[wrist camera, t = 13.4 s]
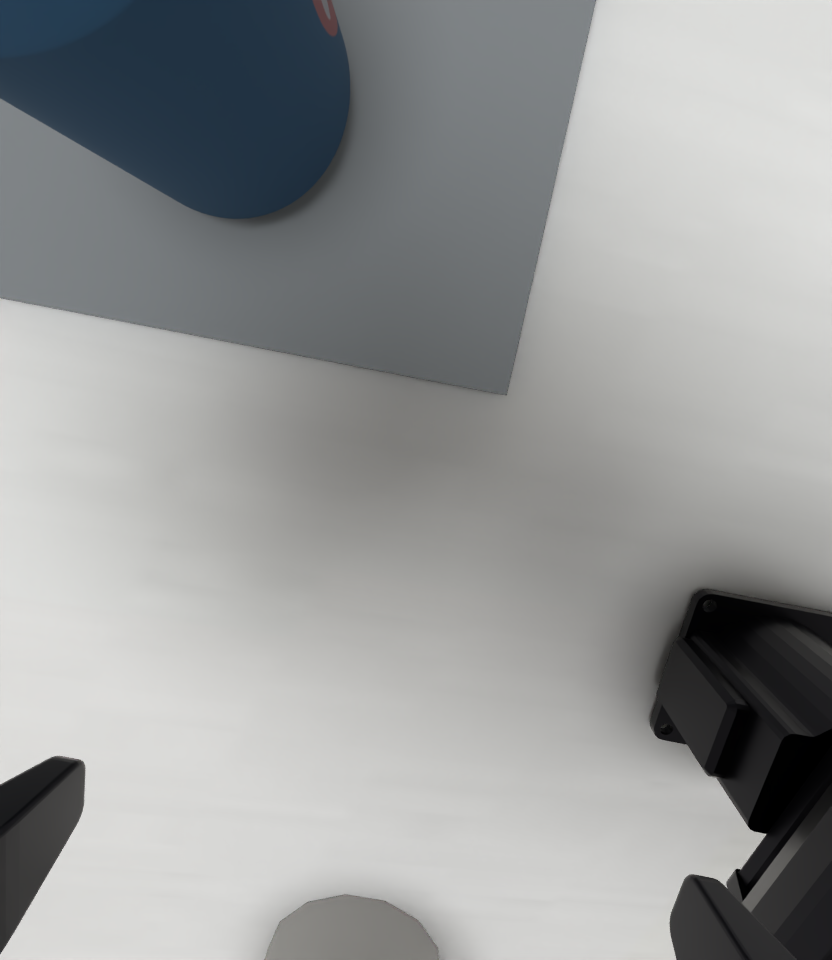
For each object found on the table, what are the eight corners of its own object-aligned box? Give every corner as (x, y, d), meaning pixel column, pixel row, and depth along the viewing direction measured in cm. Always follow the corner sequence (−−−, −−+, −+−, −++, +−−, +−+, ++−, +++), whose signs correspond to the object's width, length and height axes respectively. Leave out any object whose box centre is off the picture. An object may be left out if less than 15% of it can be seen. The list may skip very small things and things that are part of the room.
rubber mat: (608, -79, 16) (619, -107, 15) (503, 393, 19) (506, 395, 18) (-60, -210, 16) (-93, -247, 15) (-49, 287, 19) (-75, 283, 18)
